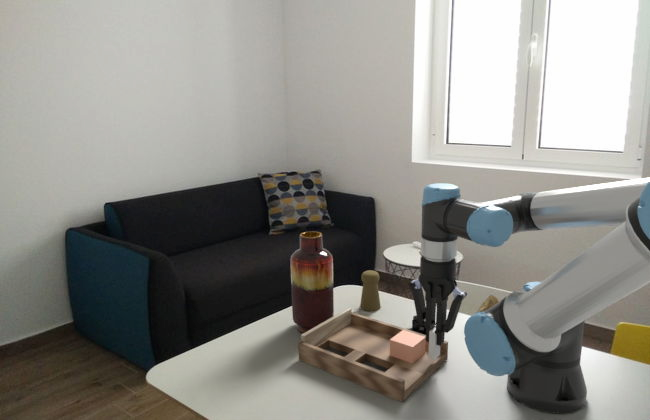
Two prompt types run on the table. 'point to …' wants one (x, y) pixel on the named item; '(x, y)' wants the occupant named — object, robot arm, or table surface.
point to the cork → (370, 291)
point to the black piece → (417, 326)
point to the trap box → (366, 354)
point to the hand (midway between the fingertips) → (434, 356)
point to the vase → (311, 282)
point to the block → (407, 346)
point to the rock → (488, 303)
